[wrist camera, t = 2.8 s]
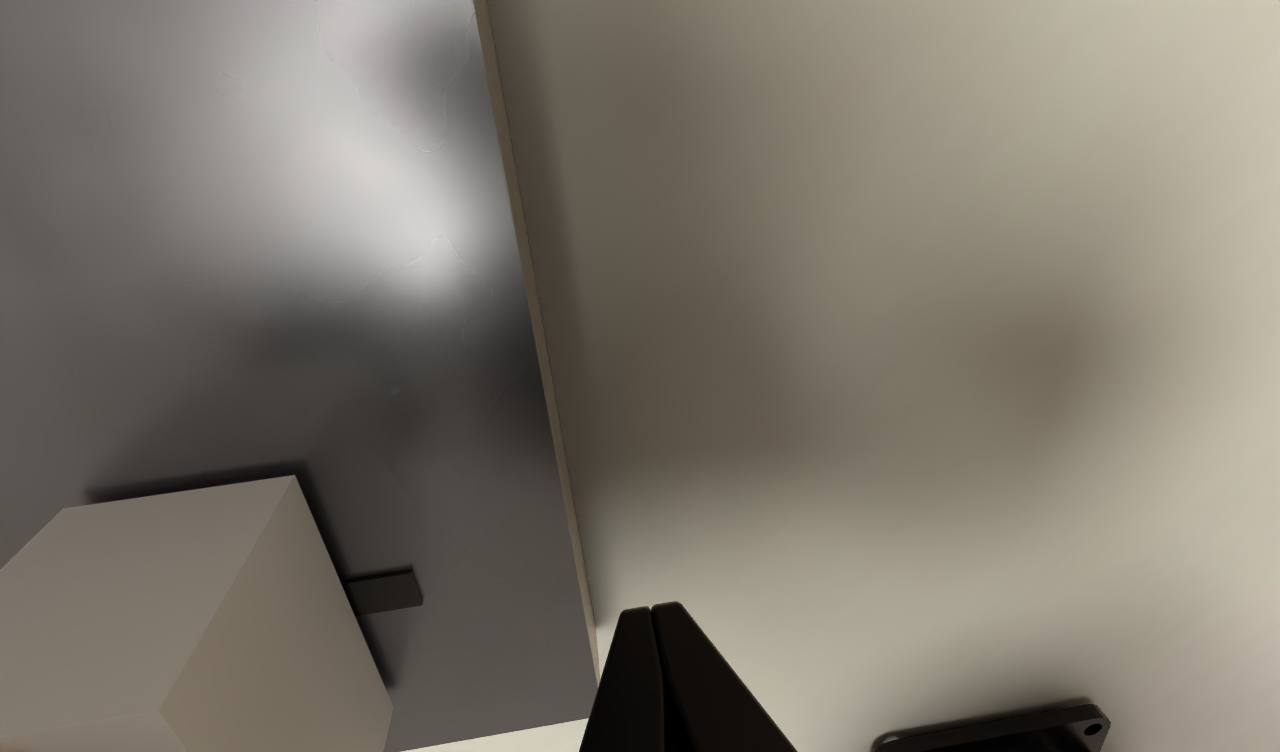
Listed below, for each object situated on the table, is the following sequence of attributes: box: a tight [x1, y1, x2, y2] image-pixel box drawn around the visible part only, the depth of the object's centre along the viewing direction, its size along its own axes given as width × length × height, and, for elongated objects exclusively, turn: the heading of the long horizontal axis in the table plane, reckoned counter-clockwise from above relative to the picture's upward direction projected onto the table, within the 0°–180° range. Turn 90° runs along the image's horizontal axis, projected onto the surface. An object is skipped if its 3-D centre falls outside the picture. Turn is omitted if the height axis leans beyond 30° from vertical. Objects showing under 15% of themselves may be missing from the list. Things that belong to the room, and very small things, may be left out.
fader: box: [0, 475, 393, 752], centre depth 8 cm, size 3×5×4 cm, turn 5°
